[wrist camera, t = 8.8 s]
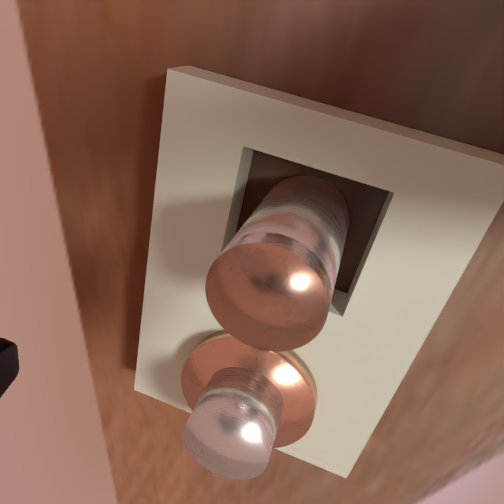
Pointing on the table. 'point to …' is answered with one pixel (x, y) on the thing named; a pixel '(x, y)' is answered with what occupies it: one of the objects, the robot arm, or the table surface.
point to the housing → (342, 304)
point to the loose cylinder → (281, 266)
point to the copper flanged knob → (244, 404)
